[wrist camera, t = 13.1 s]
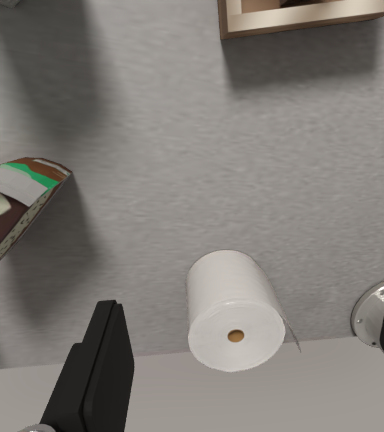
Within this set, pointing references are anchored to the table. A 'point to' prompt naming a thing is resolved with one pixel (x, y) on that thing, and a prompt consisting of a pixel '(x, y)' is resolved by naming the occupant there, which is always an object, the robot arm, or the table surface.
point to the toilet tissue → (232, 312)
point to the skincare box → (9, 3)
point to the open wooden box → (290, 15)
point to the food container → (26, 195)
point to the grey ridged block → (291, 2)
